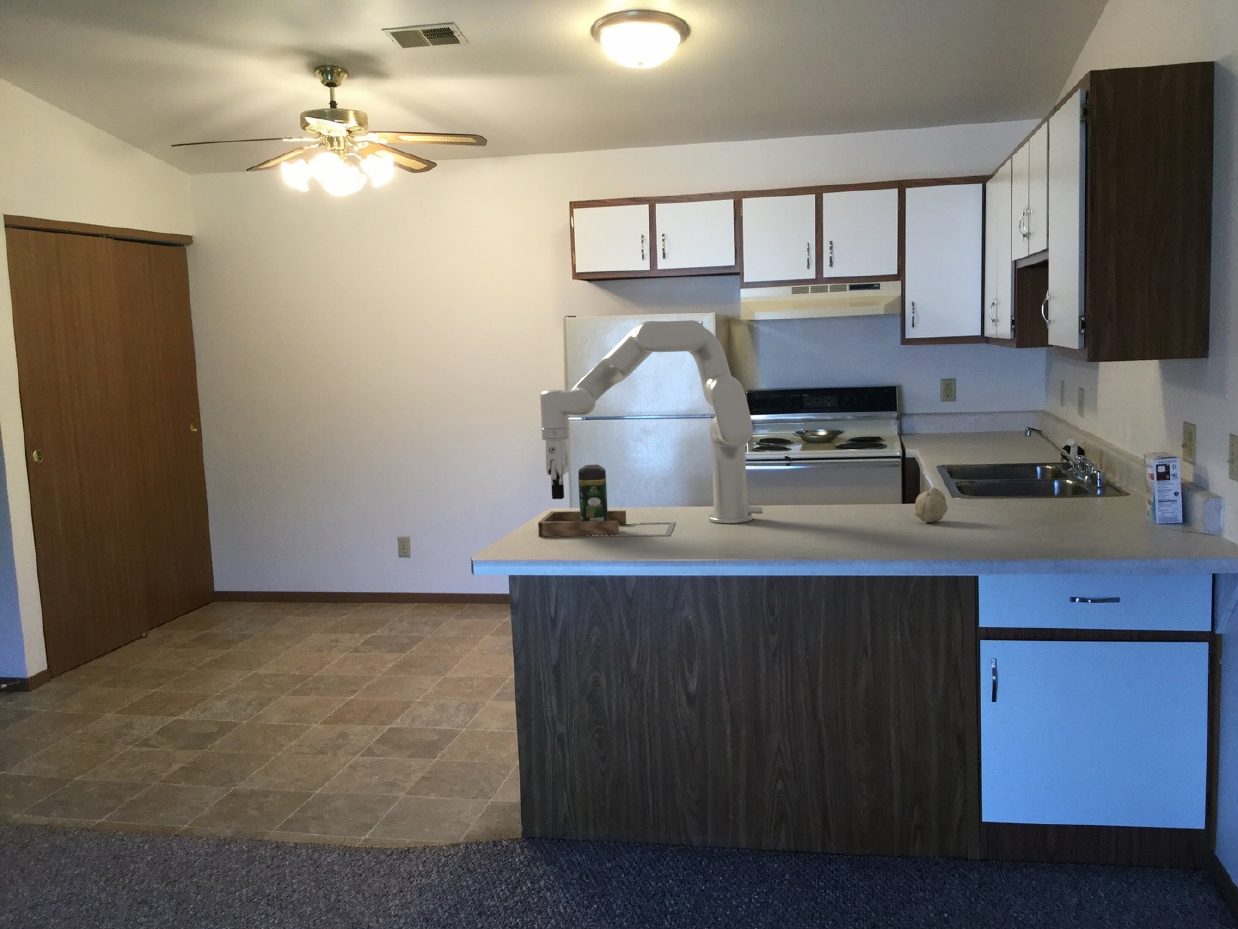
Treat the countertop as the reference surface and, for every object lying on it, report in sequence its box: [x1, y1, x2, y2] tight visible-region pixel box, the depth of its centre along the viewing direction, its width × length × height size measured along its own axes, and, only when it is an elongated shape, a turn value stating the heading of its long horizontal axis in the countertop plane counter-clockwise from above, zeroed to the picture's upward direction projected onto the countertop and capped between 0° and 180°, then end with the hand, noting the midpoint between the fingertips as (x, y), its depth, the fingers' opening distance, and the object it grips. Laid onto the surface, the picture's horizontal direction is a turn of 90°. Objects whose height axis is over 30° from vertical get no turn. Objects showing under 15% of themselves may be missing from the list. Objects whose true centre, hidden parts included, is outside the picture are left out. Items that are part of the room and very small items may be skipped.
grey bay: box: [617, 521, 677, 537], centre depth 273 cm, size 14×19×1 cm
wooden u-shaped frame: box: [537, 509, 627, 537], centre depth 275 cm, size 22×17×4 cm
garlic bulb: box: [914, 487, 949, 523], centre depth 266 cm, size 10×8×10 cm
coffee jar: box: [577, 464, 609, 521], centre depth 273 cm, size 10×8×19 cm
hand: (558, 498), depth 275 cm, fingers closed
